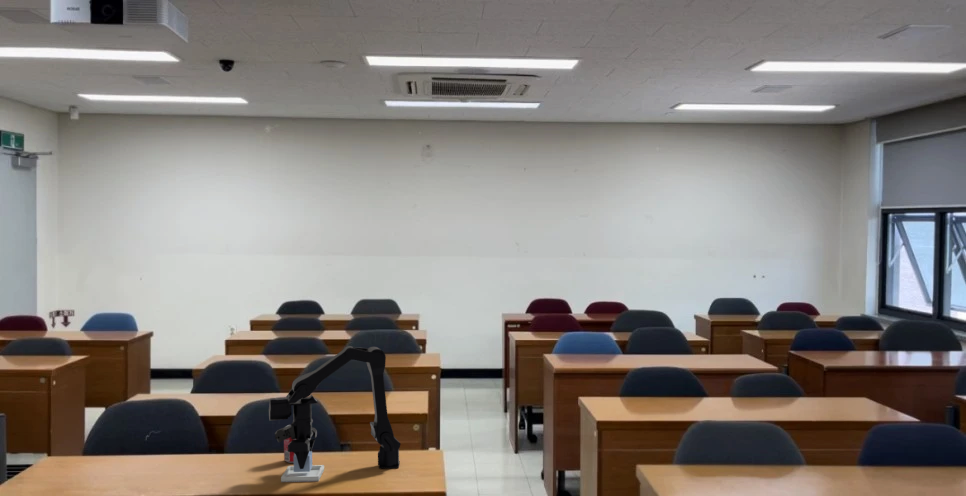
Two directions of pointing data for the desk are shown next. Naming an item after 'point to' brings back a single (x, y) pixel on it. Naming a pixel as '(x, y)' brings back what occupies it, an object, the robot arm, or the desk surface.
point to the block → (307, 465)
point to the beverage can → (287, 455)
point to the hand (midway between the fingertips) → (303, 466)
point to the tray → (302, 474)
